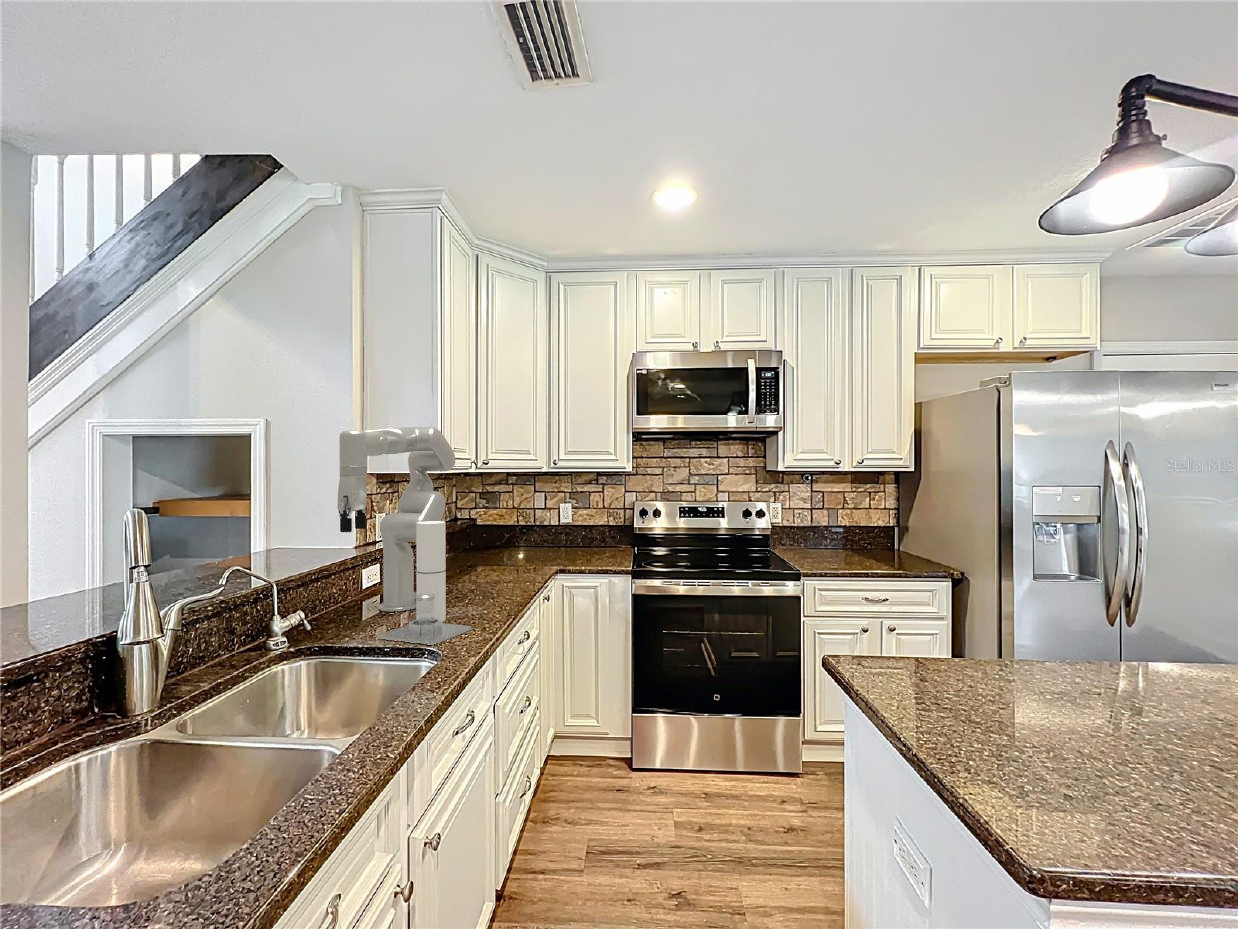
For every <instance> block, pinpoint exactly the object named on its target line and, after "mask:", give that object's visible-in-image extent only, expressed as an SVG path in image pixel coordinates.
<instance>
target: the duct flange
mask: <svg viewBox="0 0 1238 929" xmlns="http://www.w3.org/2000/svg"><path fill="white" fill-rule="evenodd" d="M471 630H472V625H463V624H462V625H461V624H453V623H446V622H445V623H444V622H442V621H441V619H435V623H434V624H428V625H416V619H414V620H411V621H409V622H408V624H406V625H404V626H401V627H399V628H396V629H392V630H390V631H386V632H384V633H381V634H378V635H377V636H376V639H377V638H380V639H386V640H398V641H405V642H410V643H423V644H427V645H433V646H435V645H437V644H436V643H438V644H440V643H442V642H445V641H447V640H450V639H452V638H455V637H457V636H459V635H461V634H465V633H468V632H469V631H471ZM386 640H385V641H386ZM410 643H409V644H410ZM434 644H435V645H434Z"/></svg>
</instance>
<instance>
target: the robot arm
mask: <svg viewBox="0 0 1238 929" xmlns="http://www.w3.org/2000/svg"><path fill="white" fill-rule="evenodd" d="M402 453H409V454H408V458H407V463H408V472H409V479H410V480H409V482H408V484H407V486H406V488H405V489H404V492H403V493H402V495H401V497H400V499H399V500H398V503H397V507H396V510H397V512H392V513H388V514H386V515H384V516H383V517H382V519H381V520H380V524H379V532H380V536H381V541H382V552H383V558H382V560H383V571H382V572H383V576H382V578H383V580H382V581H383V583H382V584H383V590H382V591H383V594H382V595H383V602H382V603H380V604H379V605H378V610H379V611H382V612H388V613H389V612H390V613H391V612H394V611H395V612H404V611H405V610H406V611H410V609H411V610H414V609H415V610H416V595H417V591H414V587H415V586H414V584H415V583H414V582H415V581H414V580H415V579H414V578H415V577H414V573H415V572H414V564H415V563H414V560H415V556H414V551H413V549H412V547H411V545H410V544H409V543H416V523H417V522H425V521H442V518H443V516H444V514H445V510H446V499H445V497H444V495H443V493H441V492H440V491H436V490H434V489H435V488H434V487H435V486H434V483H433V481H432V478H431V477H430V476H429V475H428V472H448V471H451V470H452V469H453V468H454V467H455V465H456V455H455V452H454V450H453V448H452V447H451V445H450V443H449V442H448V440H447V438H446V436H444V434H443V433H442V432H441V431H440V430H439V429H438V428H437V427H435V426H408V427H407V426H406V427H393V428H381V429H370V430H342V431H341V432H340V434H339V480H338V488H337V507H336V508H337V510H338V514H339V532H340V533H352V532H353V518H351V517H352V514H353V512H355V514H356V515H355V516H354V528H355V529H356V530H365V529H367V514H368V513H367V511H368V510H367V509H368V503H369V502H368V499H367V498H368V494H367V493H368V492H367V481H366V478H367V477H368V457H375V456H382V455H397V454H398V455H399V454H402Z"/></svg>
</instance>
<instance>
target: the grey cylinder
mask: <svg viewBox="0 0 1238 929" xmlns="http://www.w3.org/2000/svg"><path fill="white" fill-rule="evenodd" d="M415 601H416V608H415V610H416V611H415V617H416V619H415V620H416V625H428V624H434V623H435V594H431V593H425V594H418V595H416V599H415Z"/></svg>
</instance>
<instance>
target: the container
mask: <svg viewBox="0 0 1238 929" xmlns="http://www.w3.org/2000/svg"><path fill="white" fill-rule="evenodd" d="M446 532H447V531H446V521H442V520H440V521H425V522H417V523H416V542H415V544H416V545H415V546H416V548H415V549H416V551H415V552H416V562H415V564H416V575H415V576H416V578H415V579H416V581H415V582H416V592H417V595H418V594H425V593H431V594H435V619H441V621H442V623H444V622H445V621H446V620H447V616H446V614H447V612H446V611H447V610H446V609H447V608H446V606H447V605H446V602H447V601H446V600H447V599H446V598H447V597H446V596H447V595H446V593H447V592H446V590H447V589H446V587H447V583H446V582H447V581H446V579H447V575H446V574H447V572H446V570H447V569H446V568H447V567H446V560H447V559H446V556H447V555H446V553H447V552H446V550H447V549H446V545H447V544H446V538H447V537H446Z"/></svg>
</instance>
